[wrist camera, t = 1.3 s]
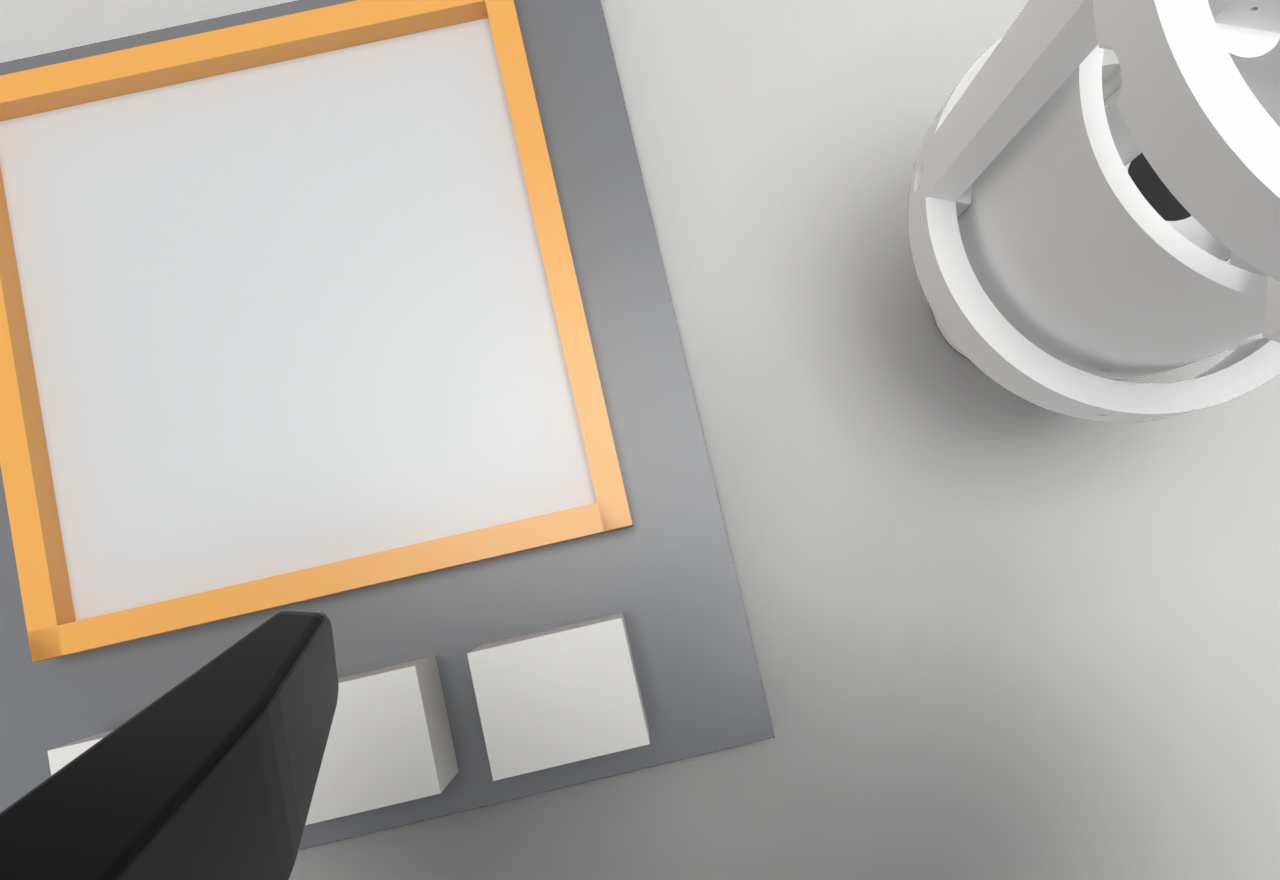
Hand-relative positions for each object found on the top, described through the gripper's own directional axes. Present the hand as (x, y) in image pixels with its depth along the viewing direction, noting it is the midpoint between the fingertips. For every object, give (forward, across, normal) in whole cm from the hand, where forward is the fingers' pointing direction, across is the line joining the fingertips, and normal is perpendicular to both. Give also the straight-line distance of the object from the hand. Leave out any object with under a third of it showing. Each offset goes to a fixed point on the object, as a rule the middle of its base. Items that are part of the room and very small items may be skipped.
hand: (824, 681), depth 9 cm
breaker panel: (+13, +10, +5) cm, 17 cm away
